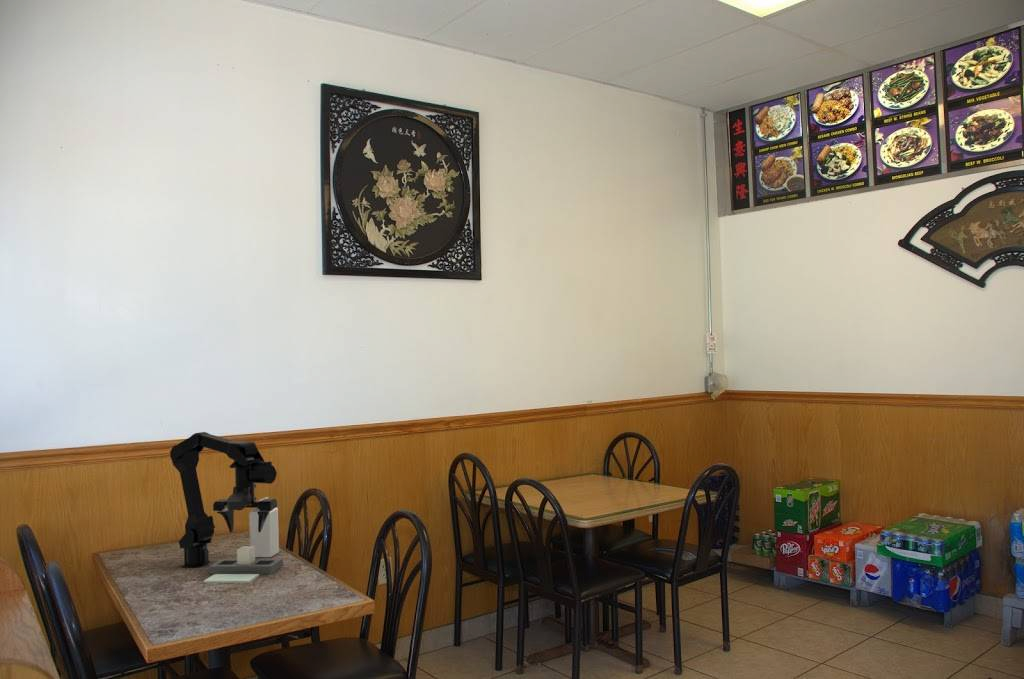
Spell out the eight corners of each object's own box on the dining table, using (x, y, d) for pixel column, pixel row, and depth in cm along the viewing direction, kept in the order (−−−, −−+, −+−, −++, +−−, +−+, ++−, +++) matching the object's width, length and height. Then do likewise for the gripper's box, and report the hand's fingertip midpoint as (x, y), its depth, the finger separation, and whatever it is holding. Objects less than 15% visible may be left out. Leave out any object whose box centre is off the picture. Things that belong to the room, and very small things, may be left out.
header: (208, 574, 239) (208, 566, 239) (222, 566, 248) (222, 558, 248) (271, 574, 237) (271, 566, 237) (282, 566, 246) (282, 558, 246)
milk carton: (279, 552, 264) (277, 496, 265) (270, 557, 257) (269, 500, 258) (259, 552, 265) (257, 496, 265) (250, 557, 258) (248, 500, 258)
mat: (203, 582, 230) (203, 580, 230) (215, 576, 237) (215, 574, 237) (249, 582, 228) (249, 580, 228) (259, 576, 235) (259, 574, 235)
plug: (237, 572, 241) (236, 549, 241) (243, 568, 245) (242, 546, 245) (249, 572, 240) (249, 549, 240) (255, 568, 244) (254, 546, 244)
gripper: (203, 486, 236) (204, 538, 236) (262, 486, 234) (263, 538, 234) (220, 481, 247) (221, 530, 247) (277, 480, 245) (278, 530, 245)
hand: (245, 532), depth 243 cm, fingers open, 9 cm apart
